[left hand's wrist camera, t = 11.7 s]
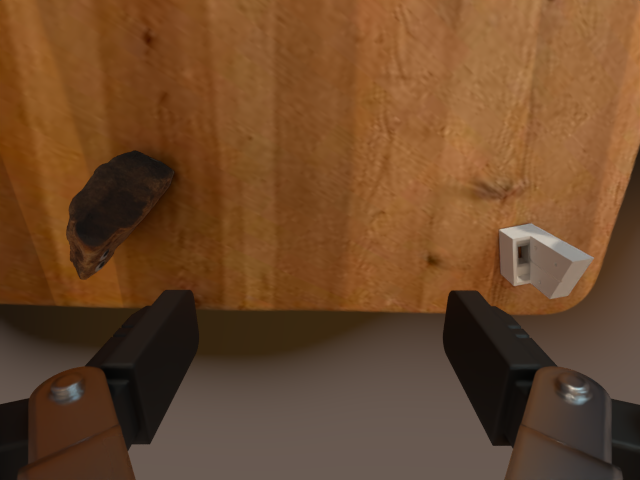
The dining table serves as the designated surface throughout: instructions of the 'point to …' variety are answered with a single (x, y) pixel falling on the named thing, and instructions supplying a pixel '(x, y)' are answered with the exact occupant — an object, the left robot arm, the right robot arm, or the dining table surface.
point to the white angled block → (540, 260)
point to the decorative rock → (113, 207)
